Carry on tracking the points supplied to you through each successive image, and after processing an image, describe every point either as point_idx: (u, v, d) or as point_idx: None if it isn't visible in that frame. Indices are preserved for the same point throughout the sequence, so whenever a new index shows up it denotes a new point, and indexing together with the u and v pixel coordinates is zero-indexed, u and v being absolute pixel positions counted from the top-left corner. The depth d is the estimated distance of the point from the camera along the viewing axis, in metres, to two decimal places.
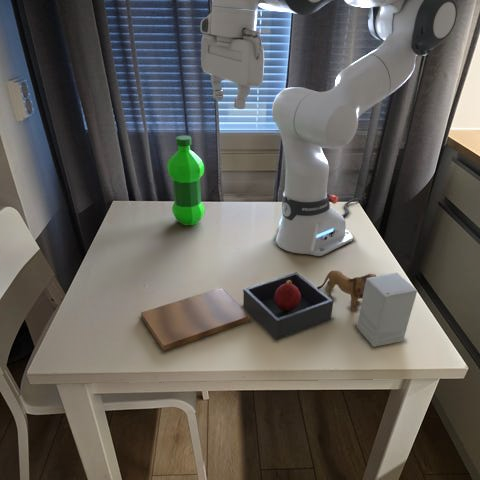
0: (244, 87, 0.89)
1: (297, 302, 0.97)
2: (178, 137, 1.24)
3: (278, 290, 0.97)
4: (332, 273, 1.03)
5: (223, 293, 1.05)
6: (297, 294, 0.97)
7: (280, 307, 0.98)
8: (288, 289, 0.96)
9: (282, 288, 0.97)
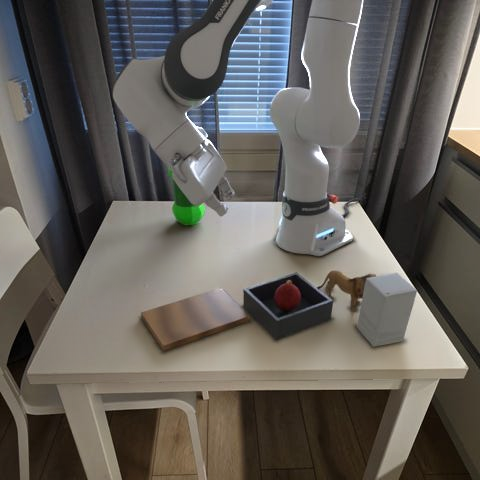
0: (207, 200, 0.83)
1: (297, 302, 0.97)
2: None
3: (278, 290, 0.97)
4: (332, 273, 1.03)
5: (223, 293, 1.05)
6: (297, 294, 0.97)
7: (280, 307, 0.98)
8: (288, 289, 0.96)
9: (282, 288, 0.97)
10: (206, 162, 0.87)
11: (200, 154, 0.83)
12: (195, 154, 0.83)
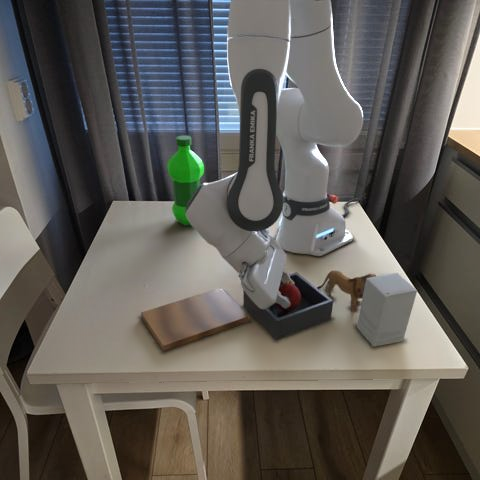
0: None
1: (297, 302, 0.97)
2: (178, 137, 1.24)
3: (278, 290, 0.97)
4: (332, 273, 1.03)
5: (223, 293, 1.05)
6: (297, 294, 0.97)
7: (280, 307, 0.98)
8: (288, 289, 0.96)
9: (282, 288, 0.97)
10: (269, 261, 0.96)
11: (264, 259, 0.92)
12: (260, 260, 0.92)
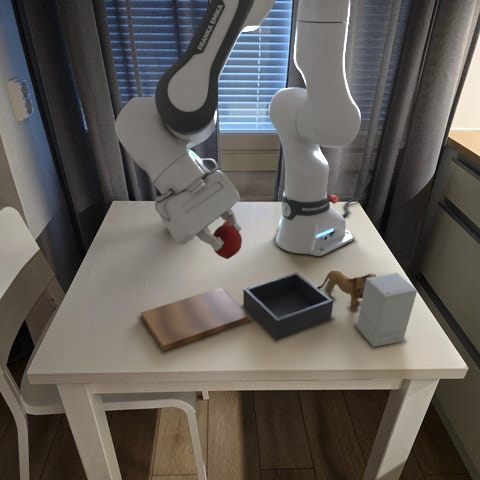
0: (200, 235, 0.82)
1: (233, 247, 0.85)
2: None
3: (215, 231, 0.86)
4: (332, 273, 1.03)
5: (223, 293, 1.05)
6: (234, 237, 0.84)
7: (215, 251, 0.86)
8: (223, 230, 0.84)
9: (218, 228, 0.85)
10: (207, 196, 0.85)
11: (195, 189, 0.82)
12: (190, 190, 0.81)
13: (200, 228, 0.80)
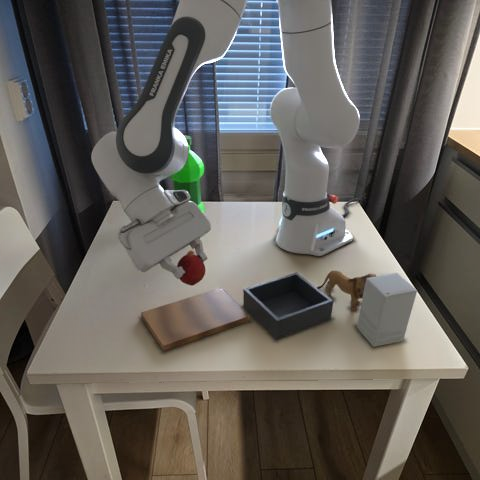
0: (162, 263, 0.87)
1: (195, 276, 0.89)
2: None
3: (180, 259, 0.91)
4: (332, 273, 1.03)
5: (223, 293, 1.05)
6: (195, 267, 0.89)
7: (179, 278, 0.91)
8: (186, 260, 0.89)
9: (182, 257, 0.90)
10: (175, 226, 0.90)
11: (161, 221, 0.87)
12: (155, 220, 0.87)
13: (160, 258, 0.85)
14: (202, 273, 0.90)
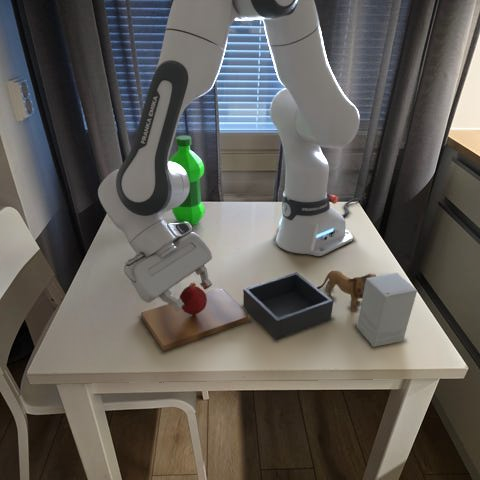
0: (162, 296, 0.91)
1: (197, 307, 0.94)
2: (178, 137, 1.24)
3: (183, 290, 0.95)
4: (332, 273, 1.03)
5: (223, 293, 1.05)
6: (197, 299, 0.94)
7: (182, 308, 0.96)
8: (188, 292, 0.93)
9: (185, 289, 0.94)
10: (177, 257, 0.94)
11: (164, 253, 0.91)
12: (159, 253, 0.91)
13: (164, 290, 0.89)
14: (204, 304, 0.95)
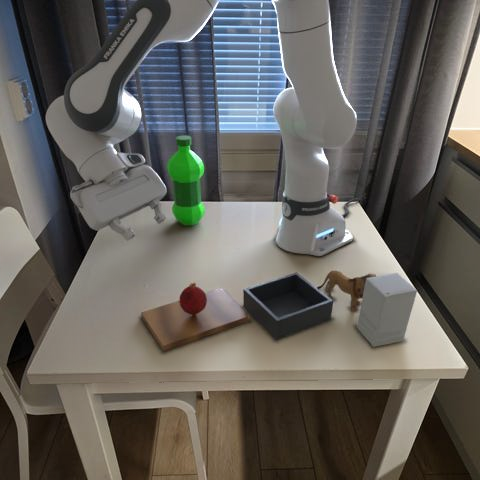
0: (111, 225, 0.89)
1: (197, 307, 0.94)
2: (178, 137, 1.24)
3: (183, 290, 0.95)
4: (332, 273, 1.03)
5: (223, 293, 1.05)
6: (197, 299, 0.94)
7: (182, 308, 0.96)
8: (188, 292, 0.93)
9: (185, 289, 0.94)
10: (128, 188, 0.93)
11: (113, 181, 0.89)
12: (108, 181, 0.89)
13: (112, 217, 0.88)
14: (204, 304, 0.95)
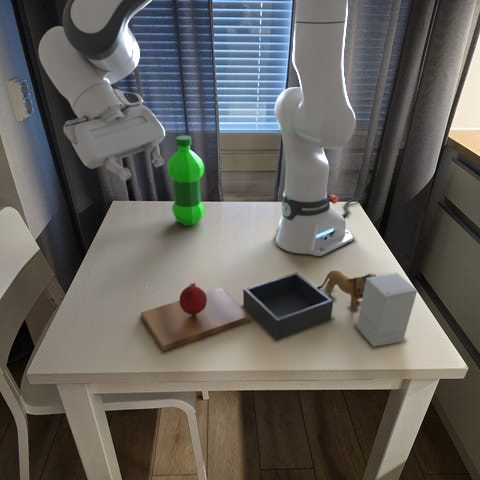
0: (106, 163, 0.85)
1: (197, 307, 0.94)
2: (178, 137, 1.24)
3: (183, 290, 0.95)
4: (332, 273, 1.03)
5: (223, 293, 1.05)
6: (197, 299, 0.94)
7: (182, 308, 0.96)
8: (188, 292, 0.93)
9: (185, 289, 0.94)
10: (125, 127, 0.88)
11: (109, 118, 0.85)
12: (104, 118, 0.85)
13: (107, 154, 0.83)
14: (204, 304, 0.95)
